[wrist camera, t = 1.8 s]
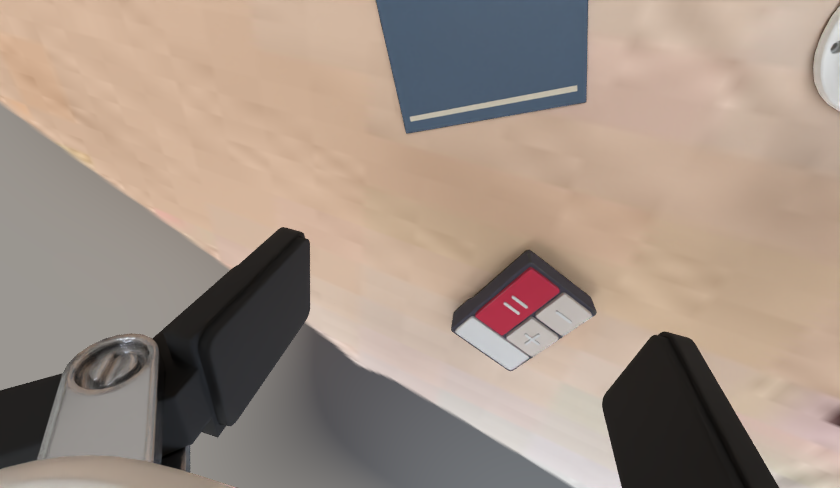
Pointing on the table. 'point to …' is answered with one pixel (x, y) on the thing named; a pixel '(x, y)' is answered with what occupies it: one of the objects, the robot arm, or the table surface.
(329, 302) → the table surface
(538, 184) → the table surface
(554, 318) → the black buttoned block
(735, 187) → the table surface
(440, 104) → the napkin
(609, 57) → the table surface
